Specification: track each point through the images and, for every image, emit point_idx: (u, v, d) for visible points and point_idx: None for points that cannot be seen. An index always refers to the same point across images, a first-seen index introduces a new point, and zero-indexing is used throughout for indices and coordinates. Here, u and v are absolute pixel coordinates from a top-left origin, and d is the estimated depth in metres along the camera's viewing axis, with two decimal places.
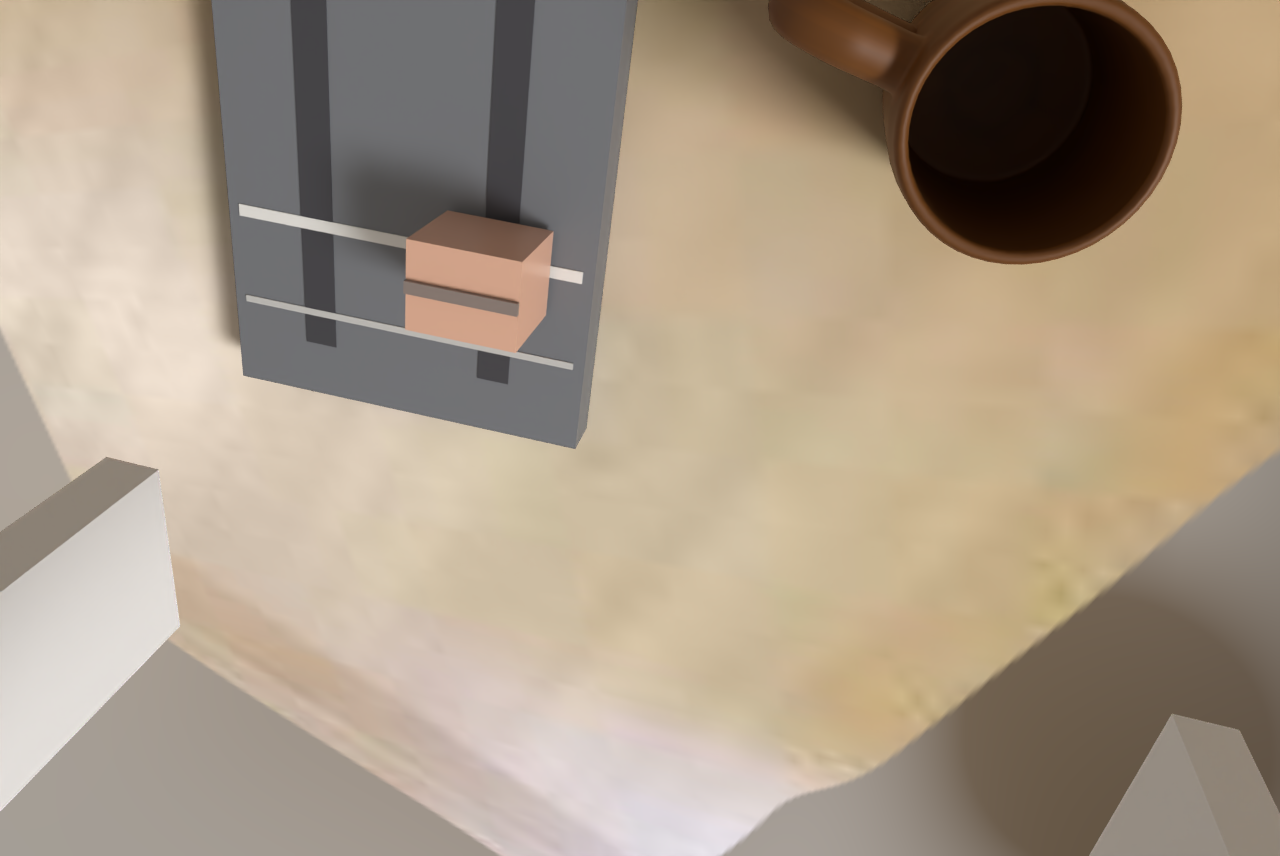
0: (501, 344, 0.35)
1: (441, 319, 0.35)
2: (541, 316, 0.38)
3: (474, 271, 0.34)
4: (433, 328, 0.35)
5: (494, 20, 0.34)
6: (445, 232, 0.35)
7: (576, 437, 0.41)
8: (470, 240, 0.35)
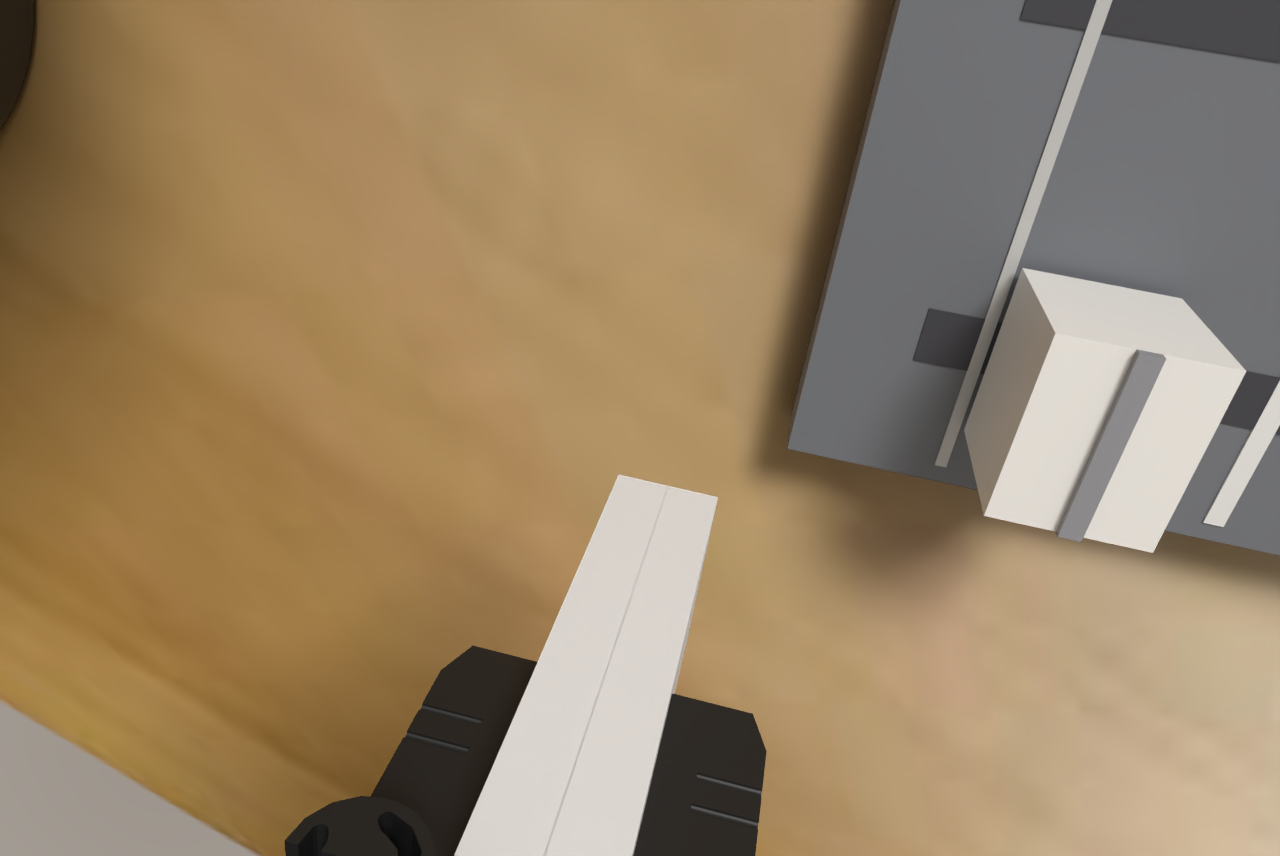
0: None
1: None
2: None
3: None
4: None
5: None
6: None
7: None
8: None
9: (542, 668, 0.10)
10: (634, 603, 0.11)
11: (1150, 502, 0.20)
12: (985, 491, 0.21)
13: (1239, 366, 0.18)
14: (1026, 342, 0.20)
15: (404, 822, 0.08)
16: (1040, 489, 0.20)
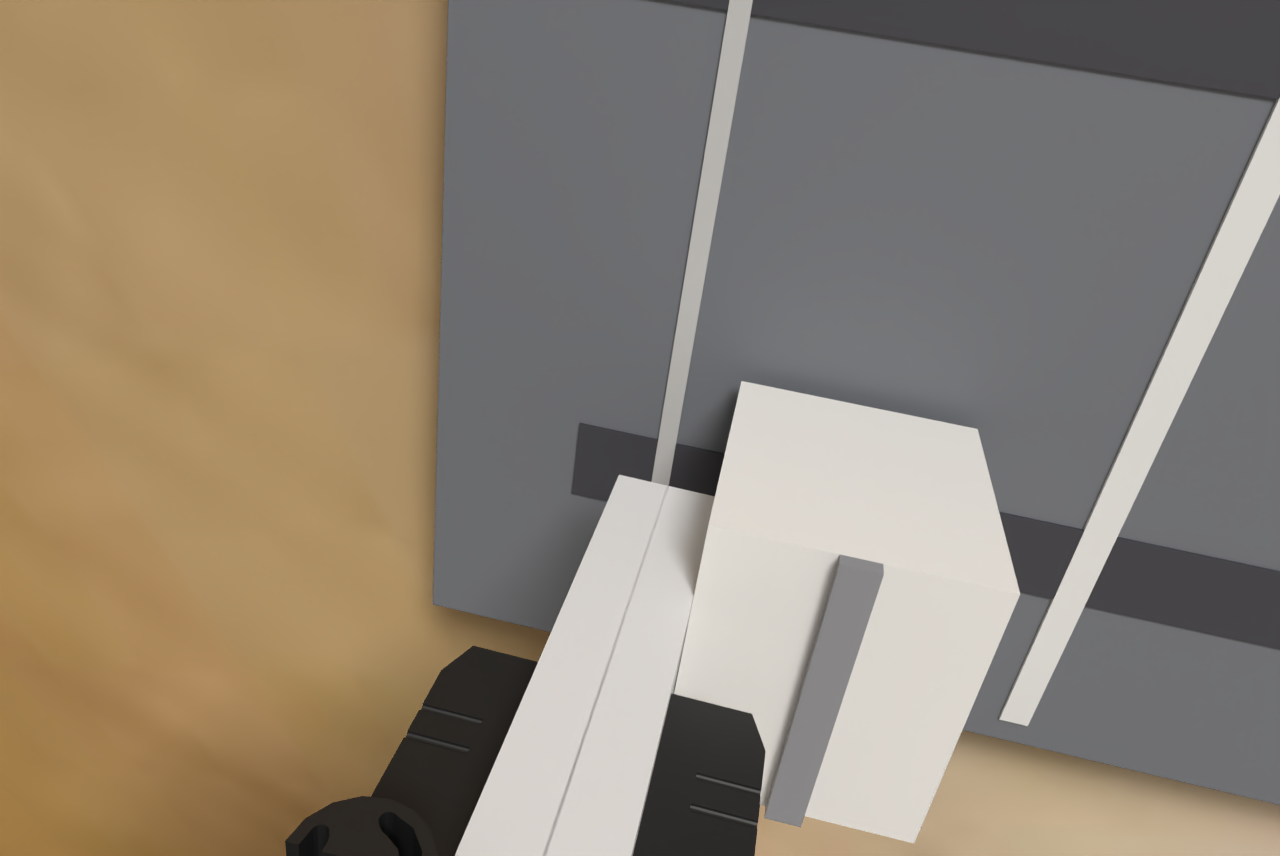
0: None
1: None
2: None
3: None
4: None
5: None
6: None
7: None
8: None
9: (543, 668, 0.10)
10: (633, 603, 0.11)
11: (898, 775, 0.12)
12: None
13: (1014, 580, 0.11)
14: None
15: (405, 823, 0.08)
16: None
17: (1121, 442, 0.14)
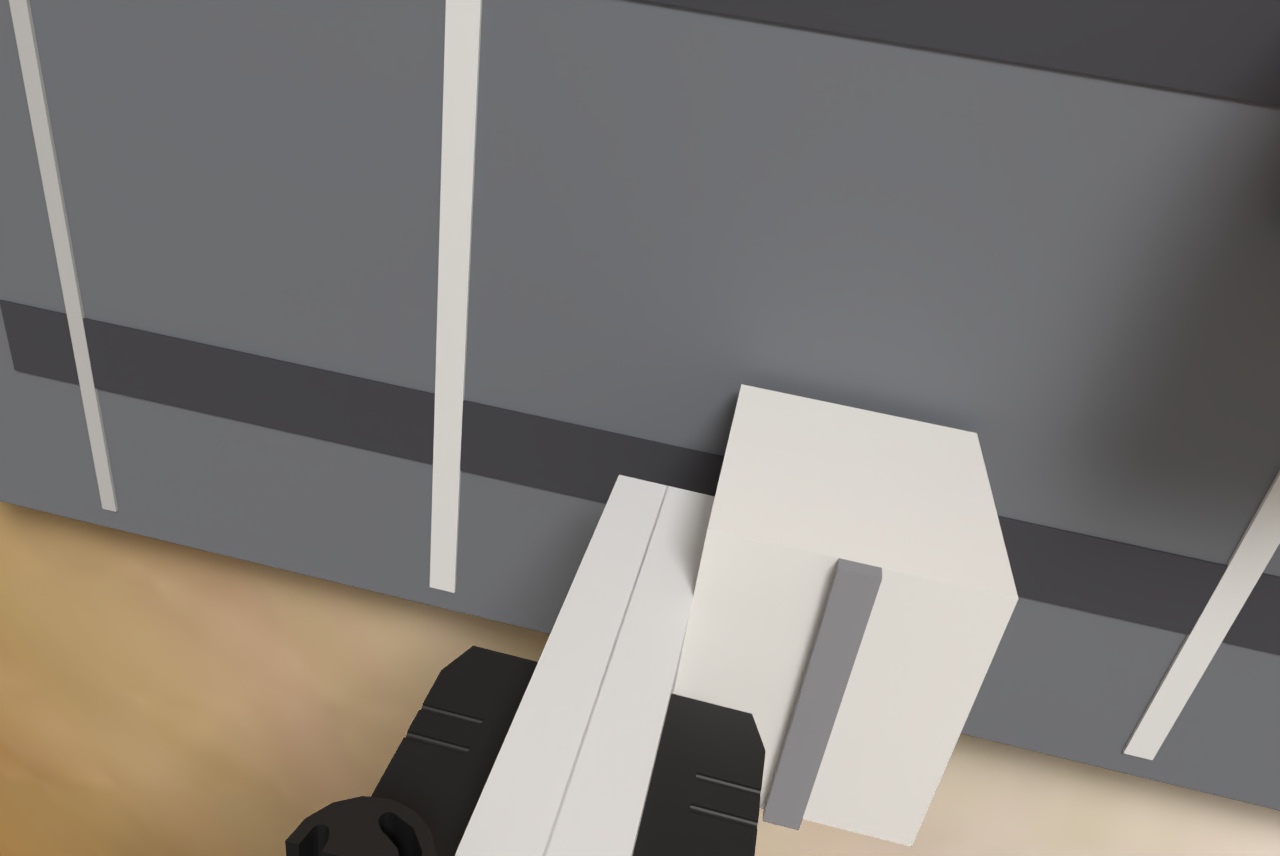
0: None
1: None
2: None
3: None
4: None
5: (752, 23, 0.12)
6: None
7: None
8: None
9: (543, 668, 0.10)
10: (633, 603, 0.11)
11: (897, 778, 0.12)
12: None
13: (1011, 584, 0.11)
14: None
15: (404, 823, 0.08)
16: None
17: (439, 306, 0.15)
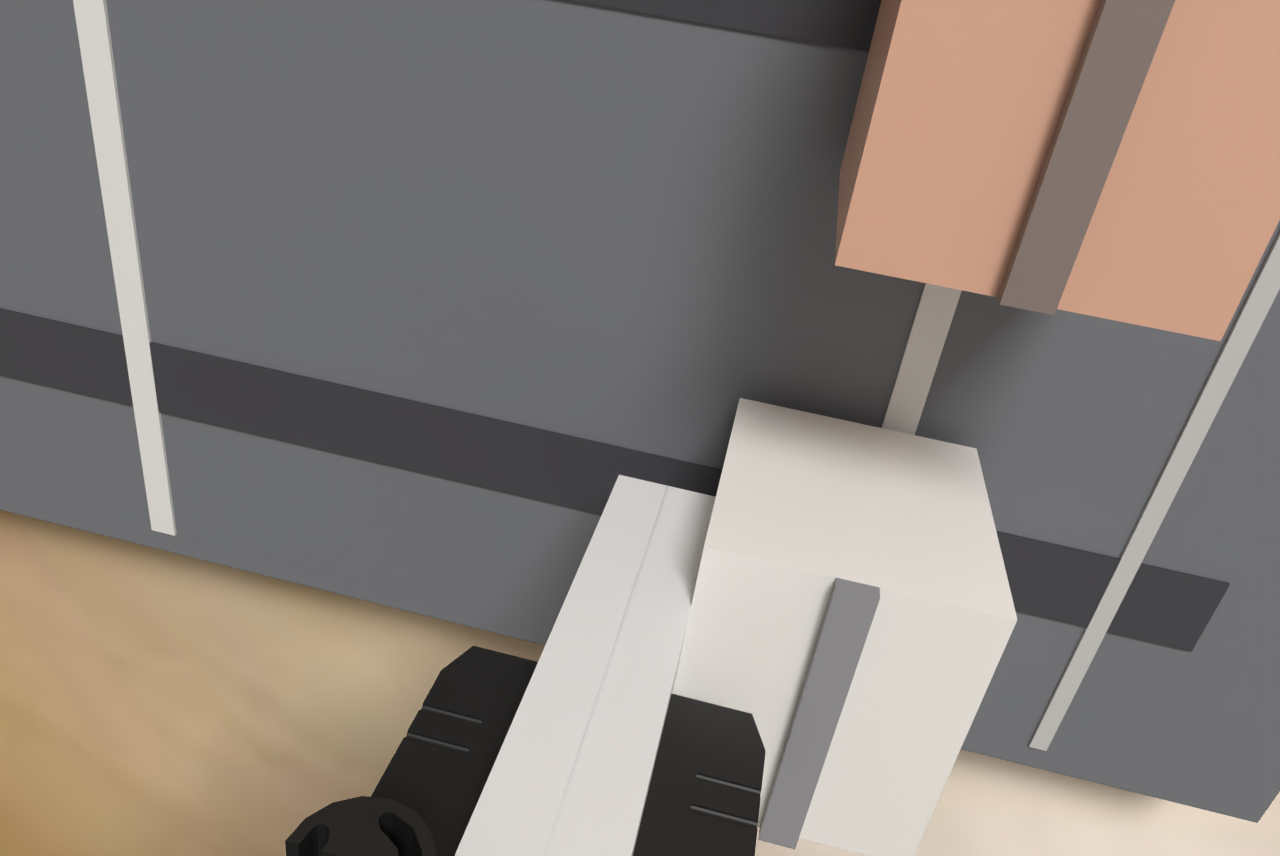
0: None
1: (1207, 173, 0.08)
2: None
3: None
4: (1240, 214, 0.08)
5: None
6: (857, 139, 0.10)
7: None
8: (886, 30, 0.09)
9: (542, 668, 0.10)
10: (633, 603, 0.11)
11: (894, 798, 0.12)
12: None
13: (1012, 606, 0.11)
14: None
15: (405, 822, 0.08)
16: None
17: (114, 249, 0.16)
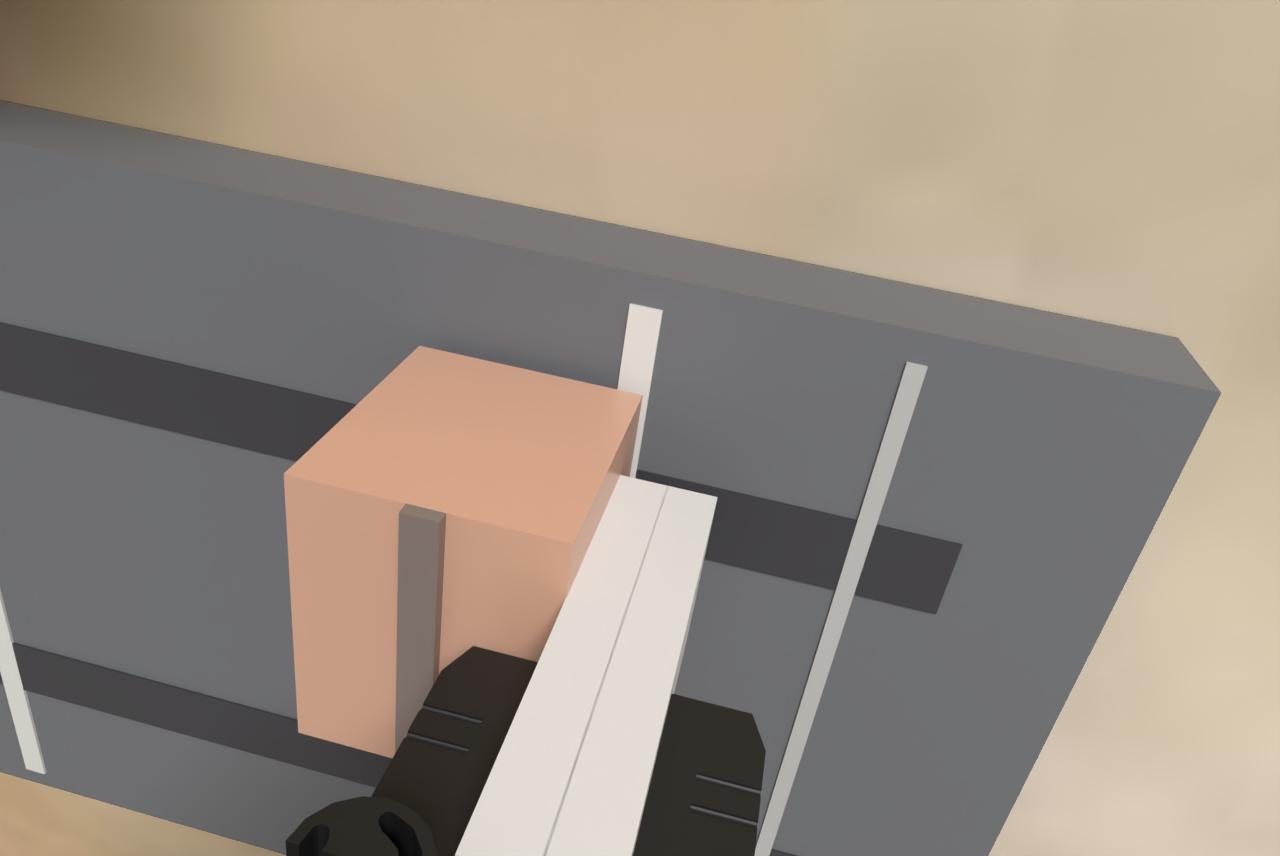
0: (550, 578, 0.11)
1: None
2: (620, 412, 0.14)
3: (341, 601, 0.12)
4: None
5: (128, 422, 0.17)
6: None
7: (1177, 383, 0.13)
8: None
9: (543, 668, 0.10)
10: (633, 603, 0.11)
11: None
12: None
13: None
14: None
15: (405, 823, 0.08)
16: None
17: None
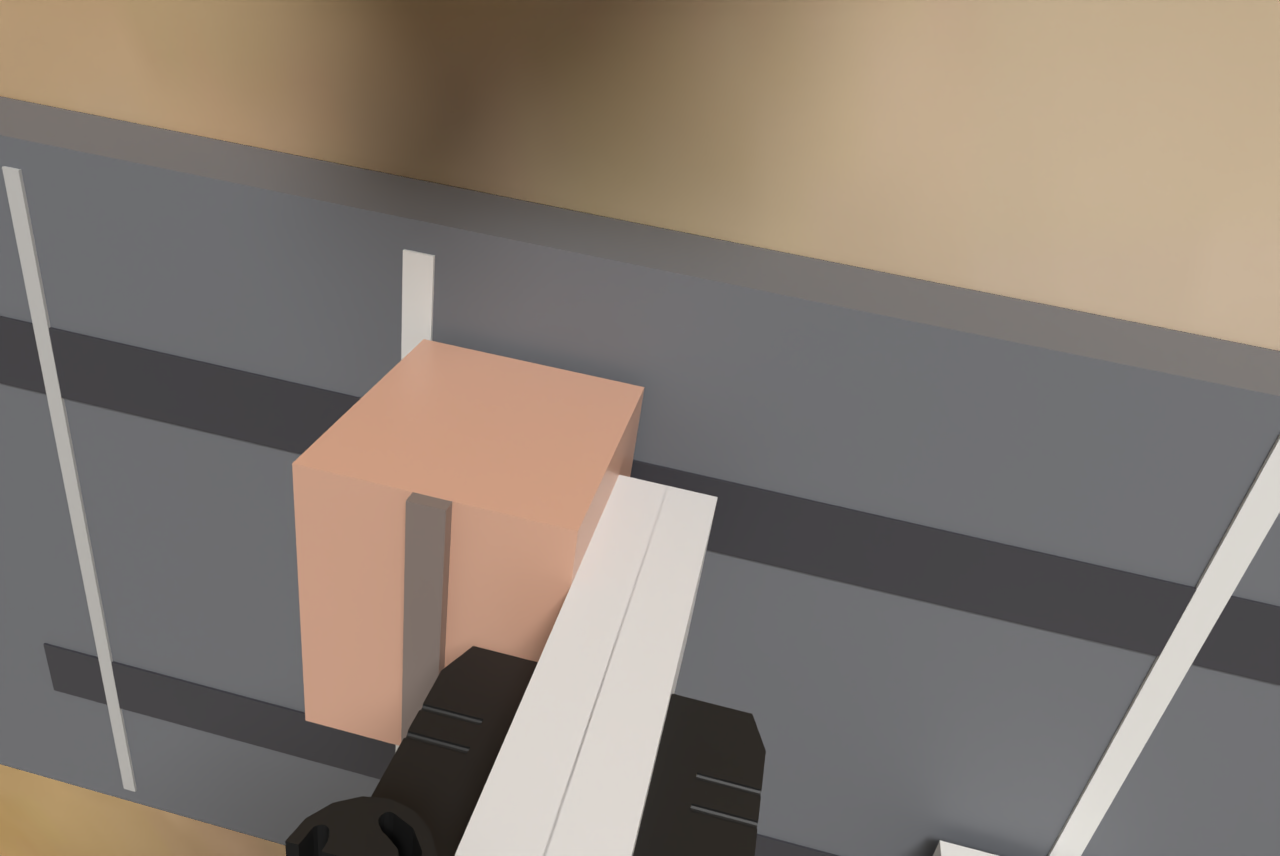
0: (554, 565, 0.11)
1: None
2: (622, 404, 0.14)
3: (349, 589, 0.12)
4: None
5: None
6: None
7: None
8: None
9: (543, 668, 0.10)
10: (633, 603, 0.11)
11: None
12: None
13: None
14: None
15: (405, 822, 0.08)
16: None
17: None
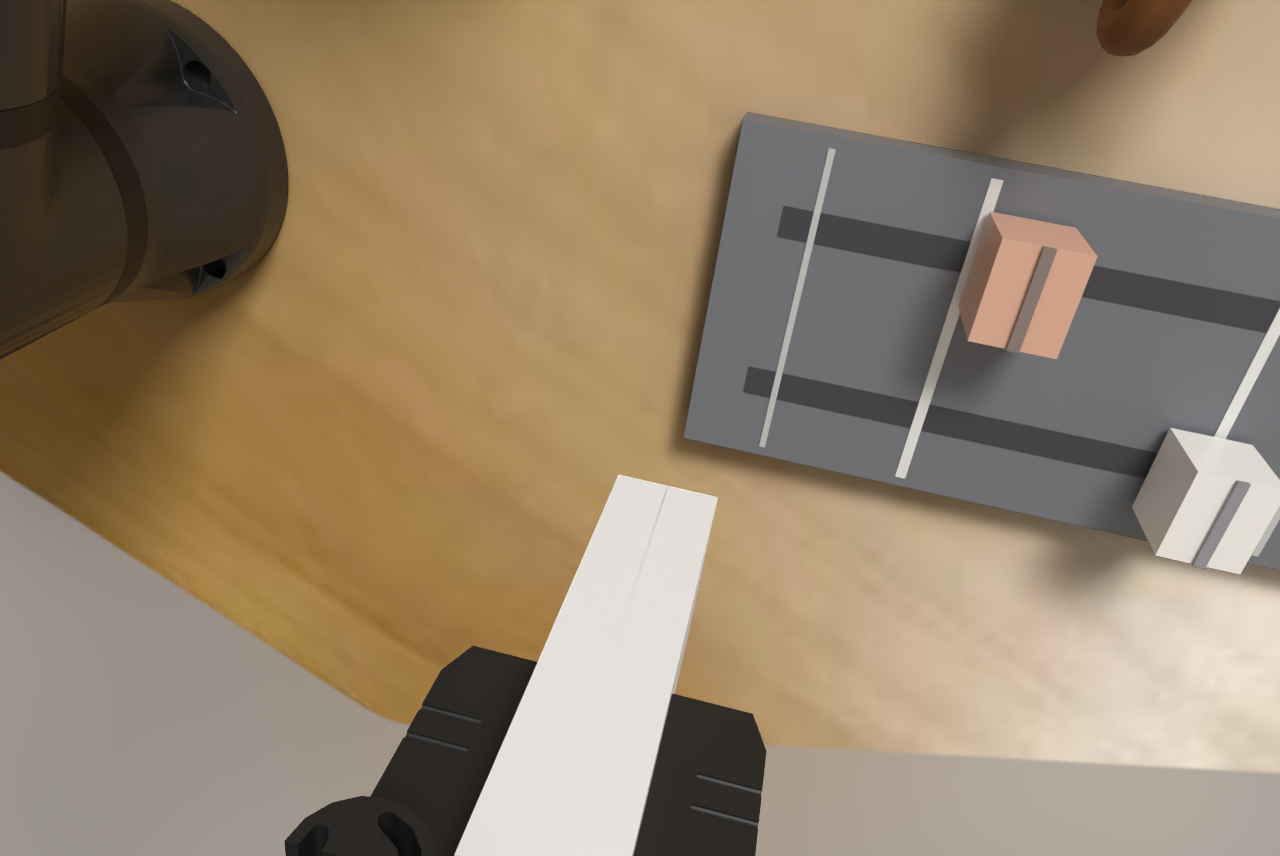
0: (1085, 269, 0.36)
1: (1051, 323, 0.37)
2: (1074, 231, 0.39)
3: (1006, 284, 0.37)
4: (1058, 332, 0.37)
5: None
6: (970, 308, 0.39)
7: None
8: (979, 285, 0.38)
9: (542, 668, 0.10)
10: (634, 603, 0.11)
11: (1240, 550, 0.40)
12: (1155, 543, 0.41)
13: None
14: (1177, 470, 0.41)
15: (405, 822, 0.08)
16: (1185, 543, 0.41)
17: (928, 372, 0.44)
